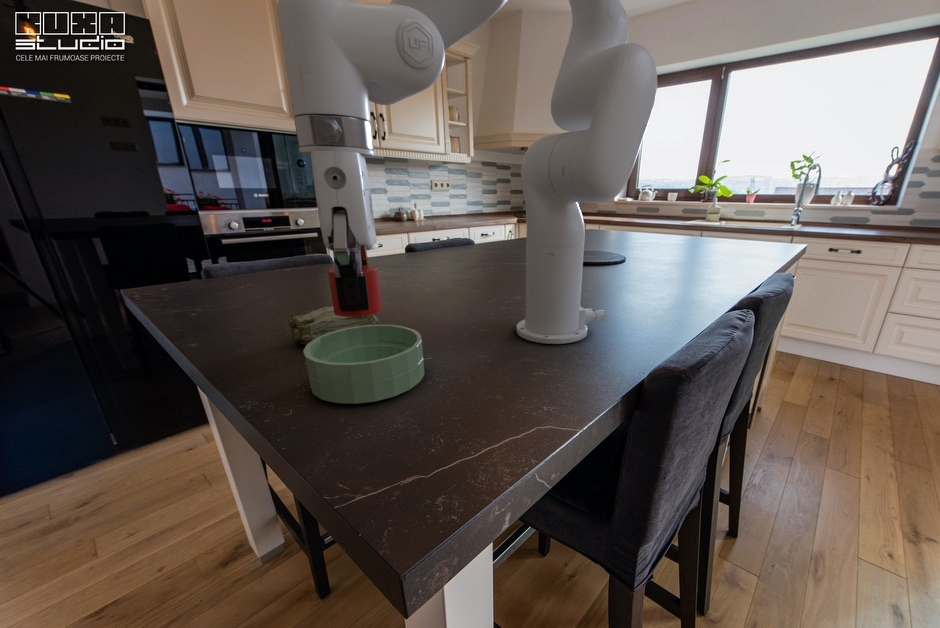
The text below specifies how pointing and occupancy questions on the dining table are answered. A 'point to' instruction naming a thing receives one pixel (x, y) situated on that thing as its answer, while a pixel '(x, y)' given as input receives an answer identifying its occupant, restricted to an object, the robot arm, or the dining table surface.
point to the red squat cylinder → (372, 290)
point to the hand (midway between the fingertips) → (357, 301)
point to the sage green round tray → (364, 363)
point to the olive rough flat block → (324, 324)
